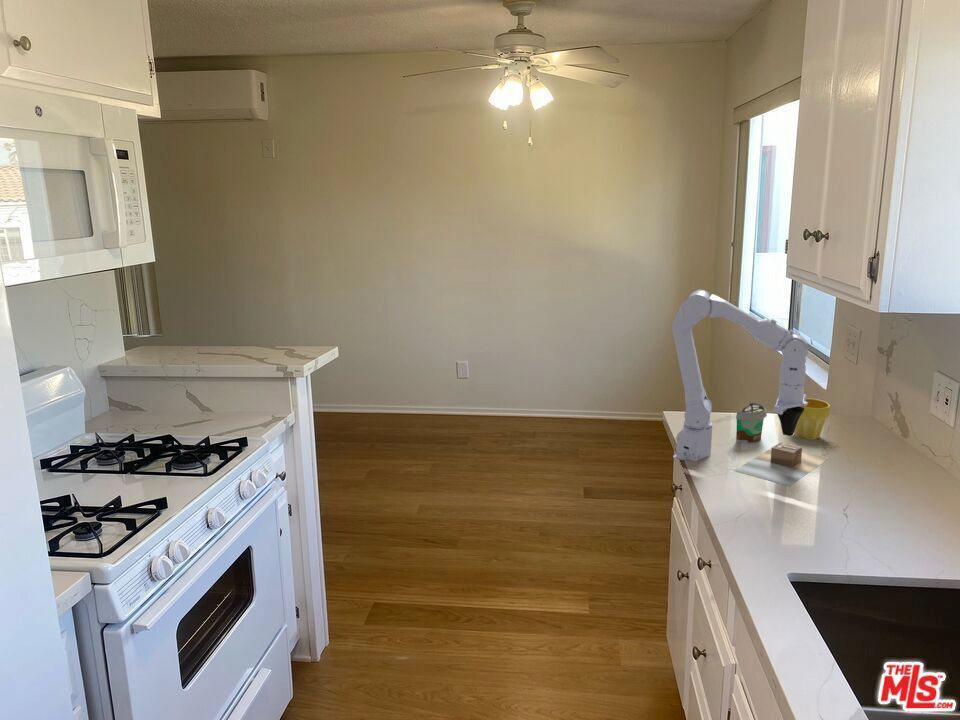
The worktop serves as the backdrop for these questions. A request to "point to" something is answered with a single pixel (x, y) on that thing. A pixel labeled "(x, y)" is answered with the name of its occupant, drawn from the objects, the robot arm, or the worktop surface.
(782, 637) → the worktop surface
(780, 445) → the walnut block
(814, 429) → the plant pot
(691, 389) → the robot arm
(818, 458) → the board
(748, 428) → the food container
